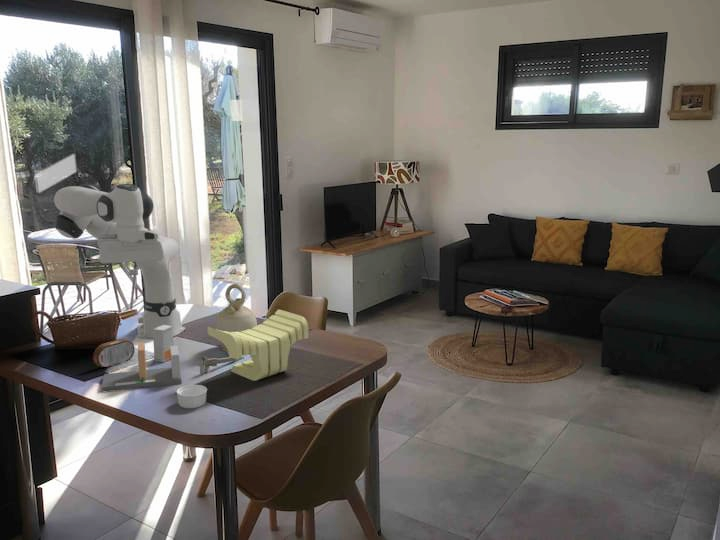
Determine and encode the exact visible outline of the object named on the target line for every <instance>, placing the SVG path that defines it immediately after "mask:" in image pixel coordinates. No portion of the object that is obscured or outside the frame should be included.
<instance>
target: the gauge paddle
mask: <svg viewBox="0 0 720 540" xmlns="http://www.w3.org/2000/svg"><path fill="white" fill-rule="evenodd" d="M145 347H146V345H145V342H138V343H137V362H138V363H137V364H138V371H139V380H142V382H144V380H146V370H147V361H146V359H147V358H146V348H145Z"/></svg>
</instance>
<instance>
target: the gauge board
mask: <svg viewBox="0 0 720 540" xmlns="http://www.w3.org/2000/svg"><path fill="white" fill-rule="evenodd" d="M170 348H171V359H170V363H171V366H169V367H163V368H162V367H161V368H160V367H159V368H149V369H146V380H144V382H142V380H139V370H131V371H120V372H111V373H104V375H103V380H102V383H101V392H102V393H104V392H103V391H106V392H112V391H111V390H115V391H122V390H123V389H124V390H133V388H134V389H141V387H143V388H150V386H152V387H161V386H169V385H177V384H178V385H179V384H182V373H181V367H180V353H179V346H178V345H174V344H173V346H170ZM124 390H123V391H124Z"/></svg>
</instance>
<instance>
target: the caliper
mask: <svg viewBox="0 0 720 540" xmlns="http://www.w3.org/2000/svg"><path fill="white" fill-rule="evenodd" d="M244 359H245V357H244V356H242V357H241V358H239V359H238V360H237V359H234V358H232V357H229V356H228V357H223V358H222V357H221V358H217V357H215V358H208V356H206V355H205V356H202V358H201V359H200V361H199V374H200V375H204V374H206V375H208V372H209V369H210V367H217V366H218V364H224V363H225V364H226V363H230V362H238V361H242V360H244Z"/></svg>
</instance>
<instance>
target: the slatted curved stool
mask: <svg viewBox="0 0 720 540" xmlns="http://www.w3.org/2000/svg"><path fill="white" fill-rule="evenodd" d="M207 335H209V336H210V337H212V338H214V339H217V340H218V341H219V340H220V341H221V342H222V343H223V344H224V345H225V346H226V348H227V350H228V352H227V353H228V357H232V358H234V359H237V360H238V359H239V358H241V357H244V356H245V357H246V356H248V355H250V357H251V359H250V360H246V361H243V362H241V363H240V362H239V363H237V364H236V363H235V364H232V368H231V370H230V372H232V373H234V374H236V375H238V376H241V377H244V378H246V379H248V380H251V381H254V382H255V381H259V380H262V379H265V378H268V377H272V376H274V375H277V374H280V373H284V372H285V371H287V369H288V360H289V356H290V351H291V346H293V345H294V344H295V343H296V342H297V341H300V340H303V339H306V340H307V339H309V323H308V321H307V319H306V318H305V317H304V316H302V315H299V314H296V313H293V312H289V311H286V310H282V309H279V308H278V309H277V310H276V311H275V312H274V314H272V315H270V317H268V319H265V320H264V321H263V322H262V323H260V324H257V326H256V327H253V328H252V330H251V329H248V330H245V331H241V332H226V331H220V330H217V329H216V328H213V327H210V326H207Z"/></svg>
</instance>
